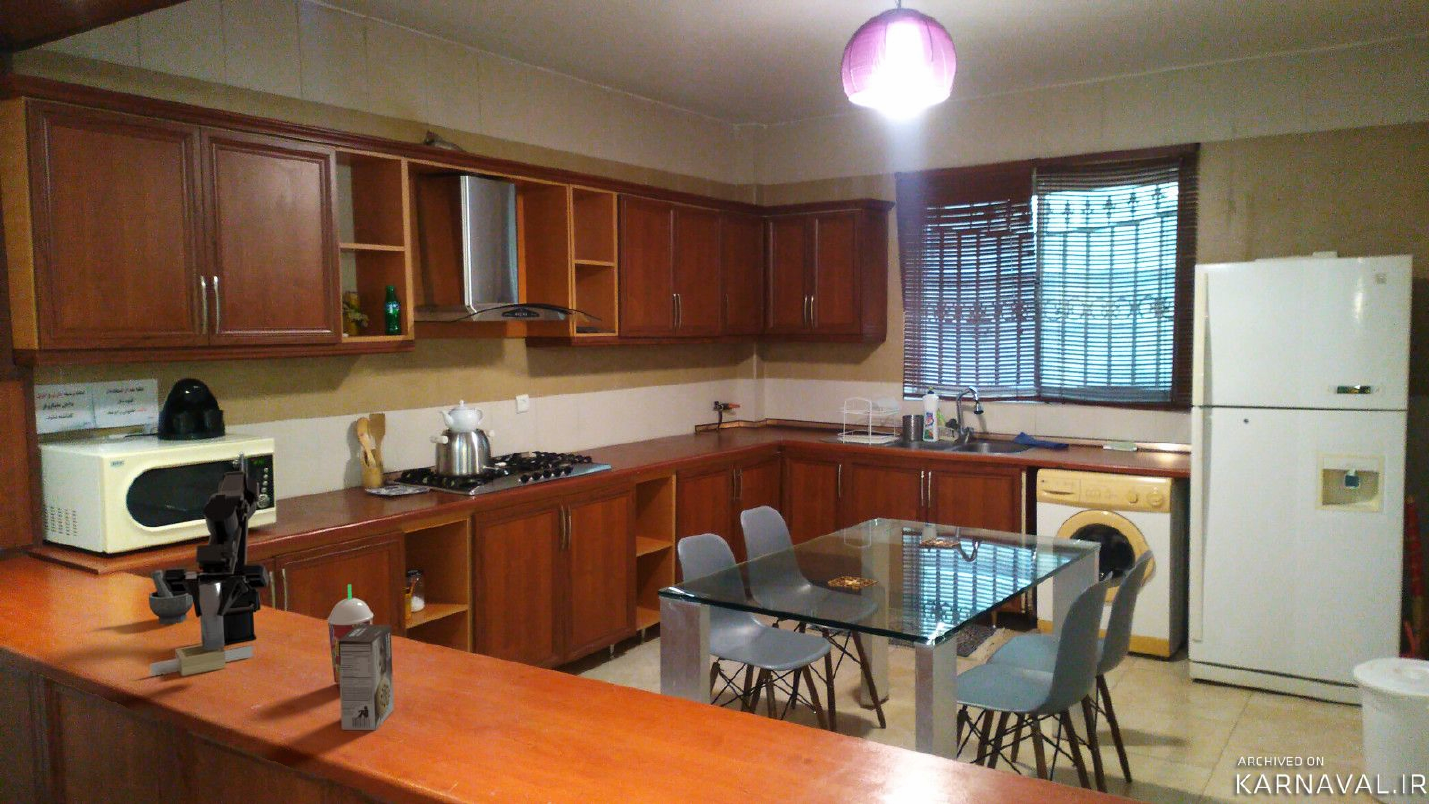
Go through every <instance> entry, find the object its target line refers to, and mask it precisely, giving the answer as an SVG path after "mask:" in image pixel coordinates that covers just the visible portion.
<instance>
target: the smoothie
mask: <svg viewBox="0 0 1429 804" xmlns="http://www.w3.org/2000/svg"><path fill="white" fill-rule="evenodd" d="M373 619H374V613H373V612H372V611H371V609H370V608H369V606H368V604H367V603H366V602H365V601H364V600H361V599H359V598H356V597H352V584H347V598H345V599H342V600H340V601H338V603H336V604H335V606H334V607H333V608H332V610H331V612H330V615H329V616H328V617H327V619H326V620H327V623H328V624H327V625H328V633H329V634H328V635H329V636H328V637H329V643H330V652H331V662H332V671H333V681H334V682H335V684H336V685H337V688H339V689H340V670H339V644H338V641H339V640H340V639H341V638H342V637H344V636H345V635H346V634H347V633H348V632H350V631H351V630H352V629H353V628H354V627H356V626H357V625H374V620H373Z"/></svg>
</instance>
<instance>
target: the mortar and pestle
mask: <svg viewBox="0 0 1429 804" xmlns="http://www.w3.org/2000/svg"><path fill="white" fill-rule="evenodd" d="M163 573H164V572H163V570H162V569H157V570H154V571H152V572H151V573H150V574H149V576H150V578H151V579H152V581H153V585H154V587H155V591H154V592H151V593H149V594H148V604H149V608H150V610H151V611H152V614H154V615H155V616H157V617H158V625H161V624H162V626H169V625H176V623H177V624H180V623H181V622H182V623H184V622H185V621H184V620H186V619H187V620H188V617H187V616H188V615H187V613H188V612H189V611H190V610H191V608H192V607H193V606H194V603H193V598H192V595H189V594H188V593H187V592H181V593H172V592H169V590H168V589H167V587H166V585H165V584H164V582H163V580H162V578H163ZM187 620H186V621H187ZM183 621H184V622H183ZM182 623H181V624H182Z"/></svg>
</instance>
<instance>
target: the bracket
mask: <svg viewBox="0 0 1429 804" xmlns="http://www.w3.org/2000/svg"><path fill="white" fill-rule="evenodd" d="M253 646H254V645H253V644H250V645H243V646H239V647H233V648H229V649H224V647H222V648H219V649H216V650H203V649H202V643H201V644H196V645H190V646H186V647H178V648H174V655H175V658H174V659H170V660H169V659H168V660H164V661H158V662H154V663H152V662H151V663H149V667H150V668H149V670H150V677H151V676H153V677H156V675H158V676H162V675H161V674H163V675H168V674H173V673H176V672H177V671H178V672H179V674H180V675H181V677H187V676H191V675H197V674H202V673H206V672H208V673H209V672H212V670H213V671H217V670H222V669H226V668H227V666H226V663H229V662H235V661H240V660H244V659H245V660H246V659H250V658H253V657H254V647H253ZM172 672H173V673H172ZM167 673H168V674H167Z"/></svg>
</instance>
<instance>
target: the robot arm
mask: <svg viewBox="0 0 1429 804" xmlns="http://www.w3.org/2000/svg"><path fill="white" fill-rule="evenodd" d="M217 488H218V489H217V490H218V492H217V493H214V494H212V495H211V496H210V497H209V501H206V503H205V506H204V508H203V511H202V512H203V513H202V514H203V518H204V520H205V523H206V527H207V531H208V532H209V539H208V543H207V544H201V545H196V553H195V563H198V568H199V570H202V572H198V571H189V570H188V567H184V566H183V567H168V568H167V569H165V570H164V572H163V574H162V575H163V578H162V580H163V582H164V584H165V585H166V587H167V589H168V590H169V592H172V593H181V592H187V593H188V594H189V595H192V598H193V608H194V612H195V617H196V618H200V603H199V584H200V583H202V582H206V581H221V589H222V603H221V607H220V616H223V629H224V645H230V644H237V643H240V642H245V641H246V642H247V641H253V640H256V639H257V636H256V634H255V619H254V613H257V611H261V598H260V591H259V590H258V589H267V588H268V587H269V580H270V576H269V574H268V571H267V568H266V566H265V565H264V564H263V563H251V564H249V563H247V562H248V539H249V520H250V519H251V517H252V516H253V515H255V513H256V511H257V503H260V488H259V483H258V481H257V480H256V479H254V478H252V477H251V476H249V475H248V472H246V471H244V470H242V471H227V472H225V473H223V474H222V480H221V481H219V482H218V487H217Z"/></svg>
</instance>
